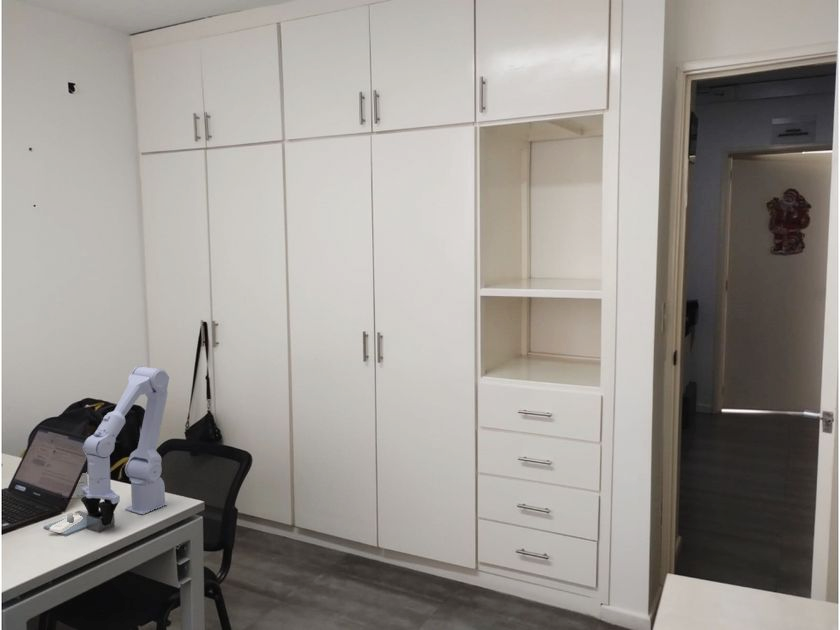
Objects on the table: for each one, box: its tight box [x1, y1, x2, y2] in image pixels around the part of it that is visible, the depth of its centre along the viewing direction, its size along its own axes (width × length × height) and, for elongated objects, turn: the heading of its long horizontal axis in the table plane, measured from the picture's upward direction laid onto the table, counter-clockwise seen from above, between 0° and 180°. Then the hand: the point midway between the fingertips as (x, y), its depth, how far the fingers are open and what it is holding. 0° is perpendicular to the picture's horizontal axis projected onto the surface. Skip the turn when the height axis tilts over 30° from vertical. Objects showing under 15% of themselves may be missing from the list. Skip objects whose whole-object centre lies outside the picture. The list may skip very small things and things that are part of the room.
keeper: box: [43, 509, 88, 537], centre depth 203 cm, size 10×10×4 cm
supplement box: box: [72, 471, 89, 499], centre depth 226 cm, size 7×7×13 cm
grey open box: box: [86, 509, 116, 533], centre depth 202 cm, size 5×5×4 cm
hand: (100, 522), depth 202 cm, fingers closed on grey open box, 5 cm apart
